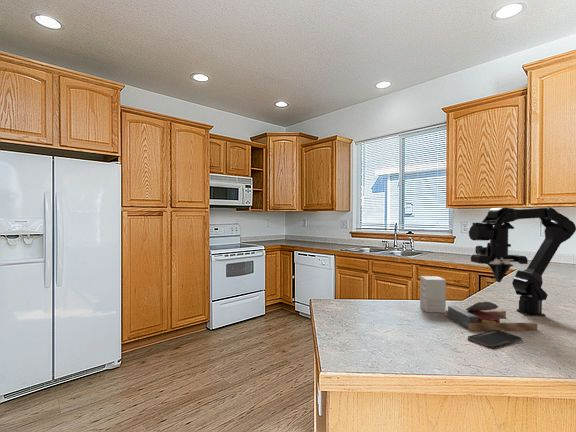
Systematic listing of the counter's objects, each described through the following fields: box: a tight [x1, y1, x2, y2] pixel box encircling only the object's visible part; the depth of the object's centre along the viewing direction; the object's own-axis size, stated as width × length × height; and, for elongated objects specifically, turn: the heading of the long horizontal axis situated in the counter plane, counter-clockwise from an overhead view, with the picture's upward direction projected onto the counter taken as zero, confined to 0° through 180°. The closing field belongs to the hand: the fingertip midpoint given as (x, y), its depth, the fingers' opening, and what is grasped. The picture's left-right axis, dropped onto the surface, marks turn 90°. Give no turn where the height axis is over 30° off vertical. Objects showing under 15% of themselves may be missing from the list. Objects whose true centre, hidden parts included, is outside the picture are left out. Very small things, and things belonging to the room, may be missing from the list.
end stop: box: [447, 305, 478, 330], centre depth 108 cm, size 3×12×4 cm, turn 4°
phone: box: [467, 330, 523, 350], centre depth 93 cm, size 8×1×15 cm
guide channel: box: [445, 309, 538, 332], centre depth 109 cm, size 22×15×2 cm
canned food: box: [465, 301, 501, 323], centre depth 108 cm, size 11×10×10 cm
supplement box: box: [419, 275, 447, 314], centre depth 123 cm, size 7×7×13 cm
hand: (498, 281), depth 119 cm, fingers closed
